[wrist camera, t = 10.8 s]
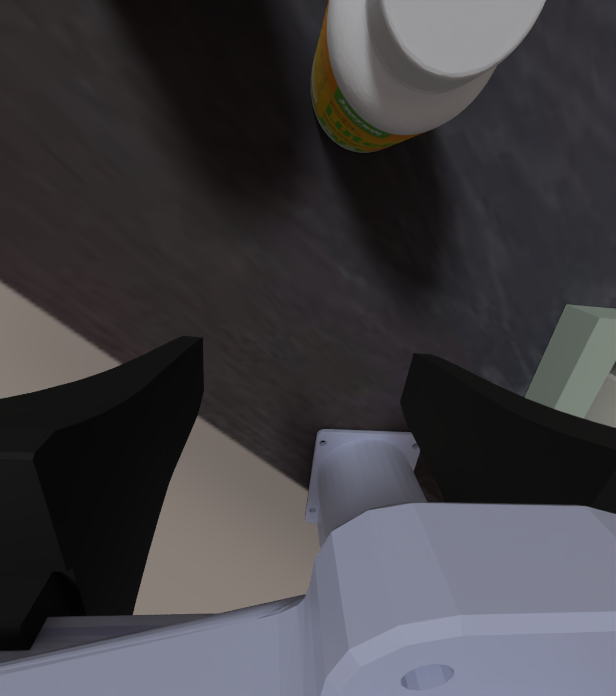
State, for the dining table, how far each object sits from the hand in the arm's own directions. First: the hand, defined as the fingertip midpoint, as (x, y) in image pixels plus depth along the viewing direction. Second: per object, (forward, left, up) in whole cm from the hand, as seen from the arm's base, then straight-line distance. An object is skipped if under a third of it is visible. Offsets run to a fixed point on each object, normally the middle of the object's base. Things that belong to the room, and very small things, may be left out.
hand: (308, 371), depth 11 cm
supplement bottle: (+10, -2, -10) cm, 14 cm away
